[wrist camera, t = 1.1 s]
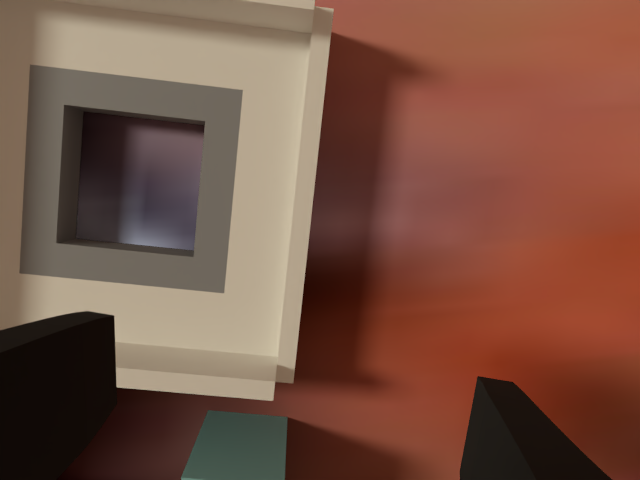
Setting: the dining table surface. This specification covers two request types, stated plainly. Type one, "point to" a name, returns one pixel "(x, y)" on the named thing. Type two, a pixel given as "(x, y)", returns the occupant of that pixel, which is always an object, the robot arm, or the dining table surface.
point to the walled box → (214, 191)
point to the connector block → (239, 448)
